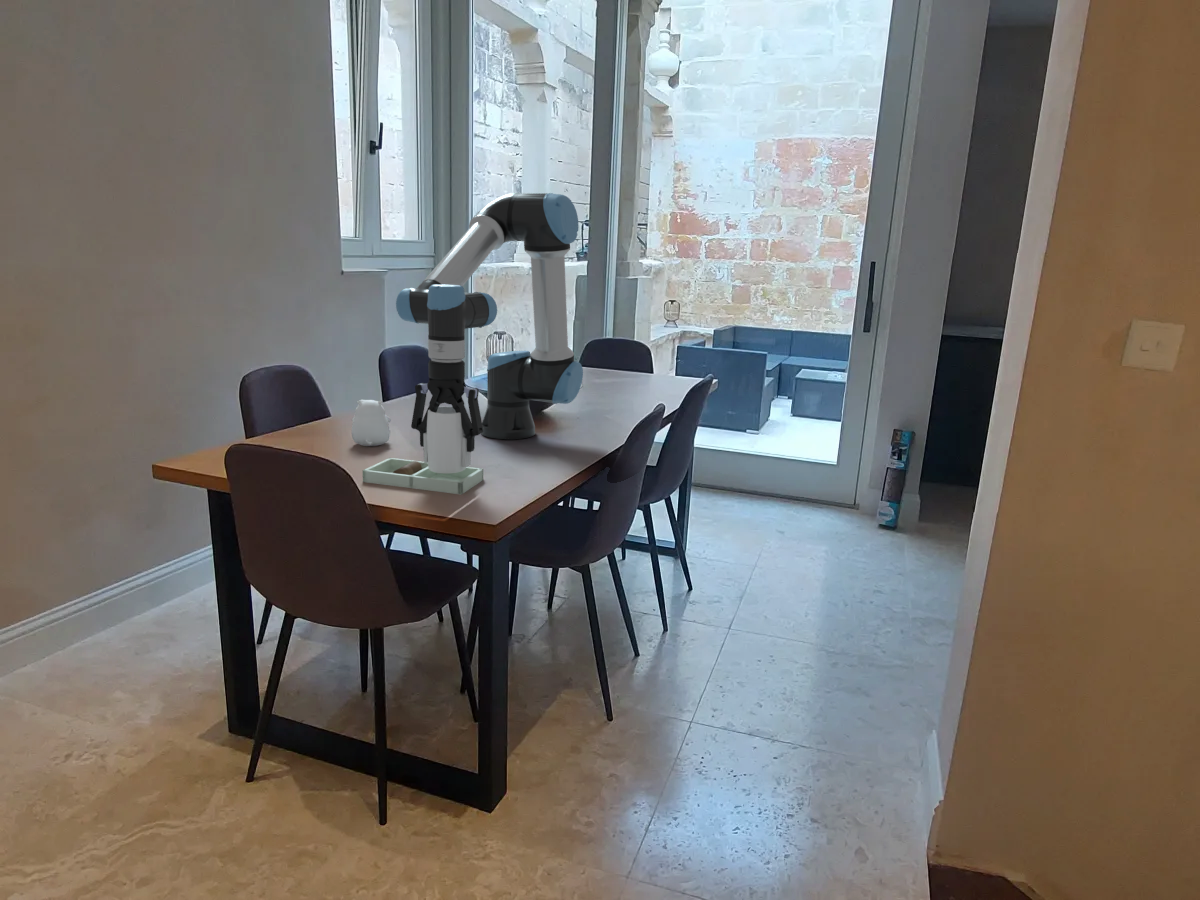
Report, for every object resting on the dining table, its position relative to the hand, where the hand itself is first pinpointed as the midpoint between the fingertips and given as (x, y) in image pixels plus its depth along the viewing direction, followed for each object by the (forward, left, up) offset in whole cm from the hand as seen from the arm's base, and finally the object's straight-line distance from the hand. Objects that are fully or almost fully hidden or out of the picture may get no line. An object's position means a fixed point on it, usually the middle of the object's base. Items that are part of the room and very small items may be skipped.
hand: (447, 463), depth 171 cm
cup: (0, 0, -3) cm, 3 cm away
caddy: (0, -6, -5) cm, 8 cm away
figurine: (-24, -33, -5) cm, 41 cm away
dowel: (0, -11, -4) cm, 12 cm away
